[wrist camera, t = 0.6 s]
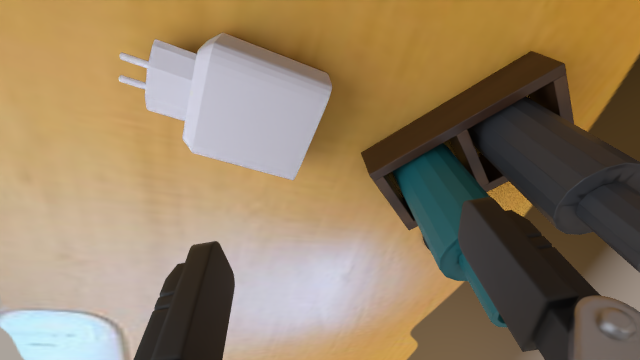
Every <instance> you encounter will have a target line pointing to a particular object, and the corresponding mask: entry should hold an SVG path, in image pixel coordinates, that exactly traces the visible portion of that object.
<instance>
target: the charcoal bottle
mask: <svg viewBox="0 0 640 360" xmlns="http://www.w3.org/2000/svg"><path fill="white" fill-rule="evenodd" d="M467 130H468V132H469V135H470V137H471V140H472V142H473V145H474V146H475V147H476V148H477V149H478V150H479V151H480V152H481V153H482V154H483V155H484V156H485V157H486V158H487V159H488V160H489V161H490V162H491V163H492V164H493V165H494V166H495V167H496V168H497V169H498V170H499V171H500V172H501V173H502V174H503V175H504V176H505V177H506V178H507V179H508V180H509V181H510V182H511V183H512V184H513V185H514V186H515V187H516V188H517V189H518V190H519V191H520V192H521V193H522V194H523V195H524V196H525V197H526V198H527V199H528V200H529V201H530V202H531V203H532V204H533V205H534V206H535V207H536V208H537V209H538V210H539V211H540V212H541V213H542V214H543V215H544V216H545V217H546V218H547V219H548V220H549V221H550V222H551V223H552V224H553V225H554V226H555V227H556V228H557V229H558V230H560V231H562V232H564V233H566V234H579V235H580V234H585V233H590V232H595V233H596V234H597V235H598V236H599V237H600V238H602V239H603V240H604V241H605V242H606V243H607V244H608V245H609V246H611V248H613V249H614V250H615V251H616V252H617V253H618V254H619V255H620V256H622V257H623V258H624V259H625V260H626V261H627V262H628V263H629V264H631V265H632V266H633V267H634V268H635V269H636V270H637V271H639V272H640V162H639V161H637V160H635V159H633V158H632V157H630V156H628V155H626V154H625V153H623V152H621V151H620V150H618V149H616V148H614V147H613V146H611V145H609V144H607V143H606V142H604V141H602V140H600V139H599V138H597V137H595V136H593V135H591V134H590V133H588V132H586V131H585V130H583V129H581V128H580V127H578V126H576V125H574V124H573V123H571V122H569V121H567V120H566V119H564V118H562V117H560V116H559V115H557V114H555V113H553V112H552V111H550V110H548V109H547V108H545V107H543V106H541V105H540V104H538V103H536V102H534V101H533V100H531V99H529V98H527V97H524V98H522V99H520V100H518V101H517V102H515V103H513V104H511V105H510V106H508V107H506V108H504V109H502V110H501V111H499V112H497V113H495V114H493V115H492V116H490V117H488V118H486V119H485V120H483V121H481V122H479V123H477V124H476V125H474V126H472V127H470V128H469V129H467Z"/></svg>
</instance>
